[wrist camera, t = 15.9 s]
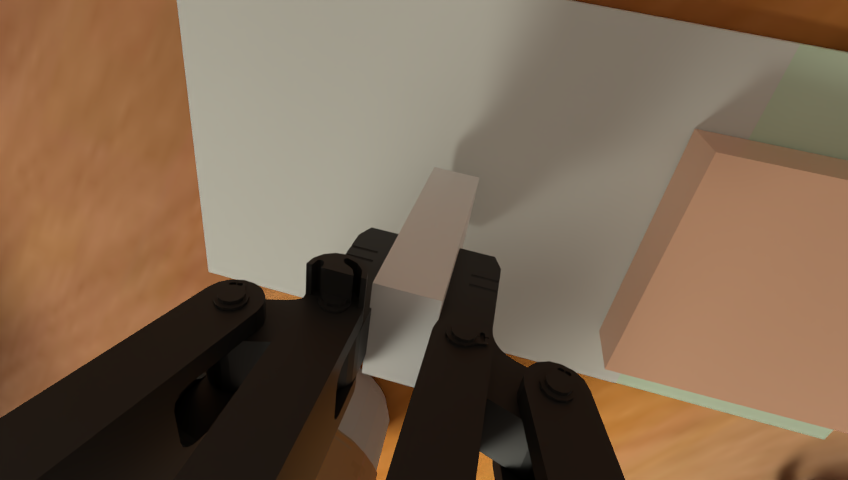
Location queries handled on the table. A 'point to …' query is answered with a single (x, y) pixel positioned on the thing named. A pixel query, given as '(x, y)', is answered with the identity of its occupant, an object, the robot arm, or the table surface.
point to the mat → (482, 140)
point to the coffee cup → (358, 435)
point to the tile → (742, 282)
